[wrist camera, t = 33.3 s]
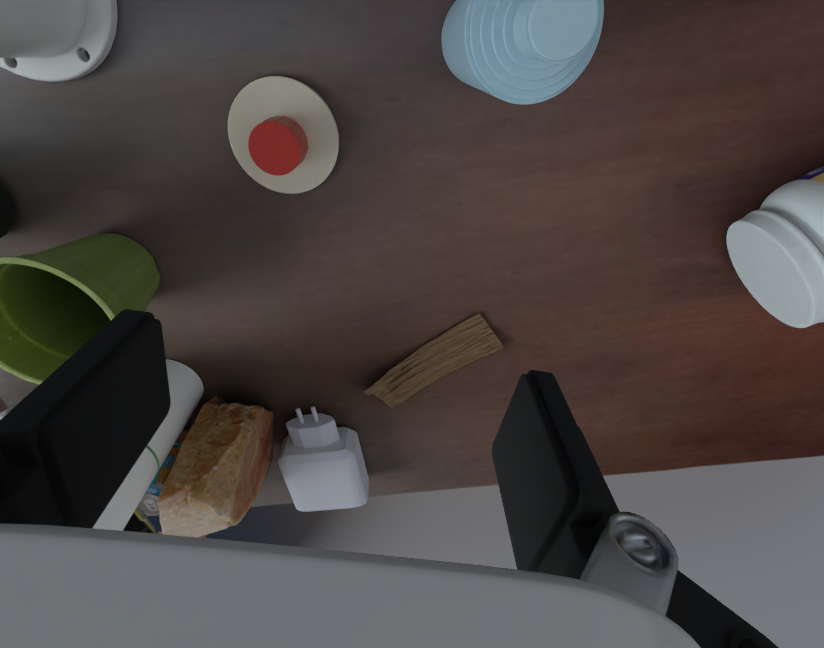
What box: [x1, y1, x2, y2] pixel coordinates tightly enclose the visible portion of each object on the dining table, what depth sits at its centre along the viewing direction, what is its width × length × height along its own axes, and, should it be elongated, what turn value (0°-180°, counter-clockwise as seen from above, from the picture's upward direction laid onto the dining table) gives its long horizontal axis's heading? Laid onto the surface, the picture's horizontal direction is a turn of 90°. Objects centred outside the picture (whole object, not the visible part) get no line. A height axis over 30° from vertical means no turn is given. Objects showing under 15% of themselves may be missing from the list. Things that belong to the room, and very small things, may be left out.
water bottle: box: [441, 0, 604, 104], centre depth 25 cm, size 6×6×20 cm
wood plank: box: [363, 313, 504, 408], centre depth 48 cm, size 15×2×5 cm
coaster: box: [228, 76, 339, 194], centre depth 36 cm, size 9×9×1 cm
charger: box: [277, 407, 369, 512], centre depth 53 cm, size 5×9×15 cm
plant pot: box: [0, 233, 160, 385], centre depth 38 cm, size 12×12×11 cm
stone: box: [158, 396, 274, 538], centre depth 47 cm, size 14×9×15 cm, turn 156°
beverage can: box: [138, 428, 190, 514], centre depth 53 cm, size 12×12×8 cm
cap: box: [248, 116, 308, 176], centre depth 35 cm, size 4×4×3 cm
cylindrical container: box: [93, 359, 204, 531], centre depth 39 cm, size 7×7×25 cm
